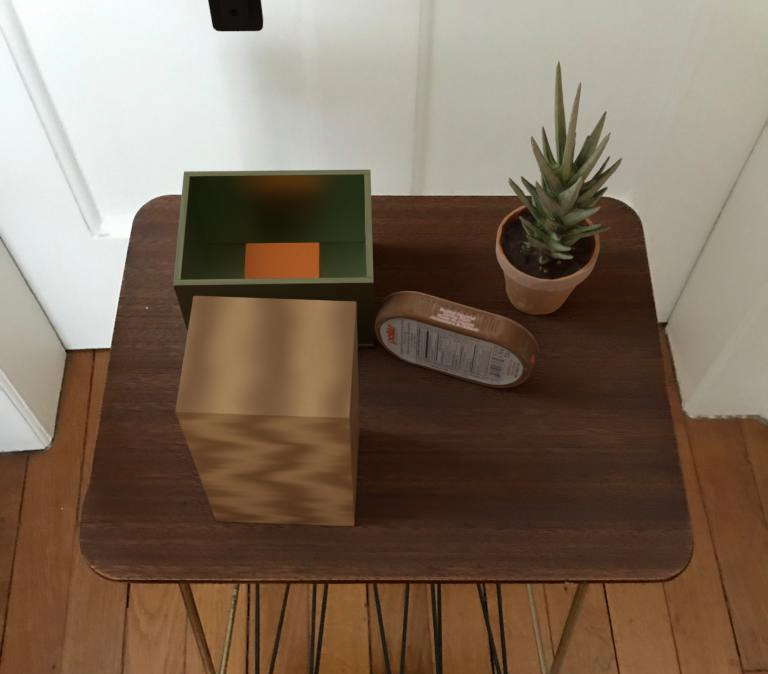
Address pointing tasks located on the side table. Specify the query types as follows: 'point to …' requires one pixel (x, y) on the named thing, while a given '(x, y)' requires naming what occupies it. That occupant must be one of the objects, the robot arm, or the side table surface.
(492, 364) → the tin
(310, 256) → the block
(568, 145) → the potted plant
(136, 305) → the side table surface
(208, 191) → the trash bin
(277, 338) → the wood grain block
